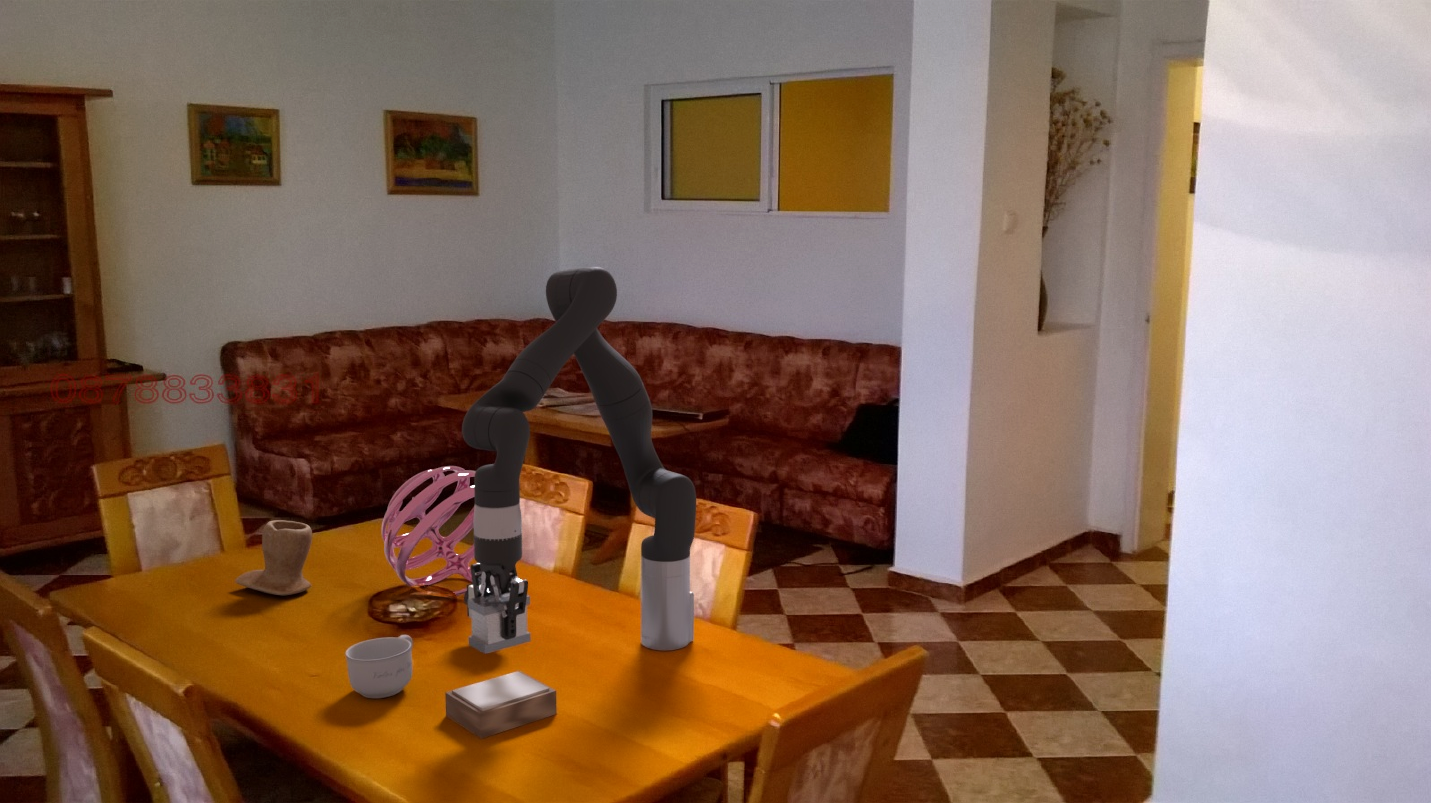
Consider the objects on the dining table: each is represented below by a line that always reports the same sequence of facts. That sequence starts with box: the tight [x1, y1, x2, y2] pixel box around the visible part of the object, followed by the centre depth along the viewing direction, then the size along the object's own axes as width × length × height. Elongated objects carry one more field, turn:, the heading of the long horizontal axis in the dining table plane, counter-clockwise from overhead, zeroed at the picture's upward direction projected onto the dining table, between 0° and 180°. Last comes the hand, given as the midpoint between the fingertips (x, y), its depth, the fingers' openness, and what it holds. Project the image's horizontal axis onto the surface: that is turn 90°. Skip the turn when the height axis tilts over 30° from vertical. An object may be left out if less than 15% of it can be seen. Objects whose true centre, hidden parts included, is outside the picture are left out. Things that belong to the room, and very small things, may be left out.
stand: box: [444, 670, 558, 739], centre depth 190 cm, size 14×11×4 cm
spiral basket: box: [381, 465, 477, 597], centre depth 252 cm, size 28×28×27 cm
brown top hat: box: [235, 519, 313, 596], centre depth 251 cm, size 15×12×15 cm
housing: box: [468, 593, 531, 654], centre depth 188 cm, size 8×5×8 cm, turn 132°
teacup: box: [344, 634, 414, 699], centre depth 200 cm, size 14×11×8 cm
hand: (499, 632), depth 189 cm, fingers closed on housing, 5 cm apart
